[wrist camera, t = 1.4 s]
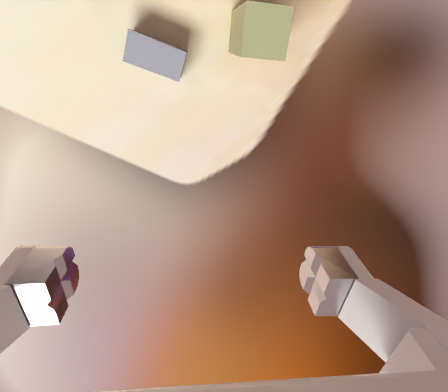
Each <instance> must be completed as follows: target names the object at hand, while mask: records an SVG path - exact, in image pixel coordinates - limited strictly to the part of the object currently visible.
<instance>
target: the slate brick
mask: <svg viewBox="0 0 448 392" xmlns="http://www.w3.org/2000/svg"><path fill="white" fill-rule="evenodd" d="M186 54H187V51H184V50H182V49H179V48H177V47H174V46H172V45H170V44H167V43H165V42H162V41H160V40H157V39H155V38H152V37H150V36H147V35H145V34H142V33H140V32H137V31H135V30H130V29H128V33H127V39H126V45H125V51H124V57H123V61H124V62H127V63H130V64H132V65H135V66H138V67H140V68H143V69H146V70H148V71H151V72H154V73H157V74H159V75H162V76H165V77H167V78H170V79H173V80H176V81H178V82H179V80H180V77H181V73H182V69H183V65H184V62H185V58H186Z"/></svg>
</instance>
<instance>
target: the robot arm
mask: <svg viewBox="0 0 448 392" xmlns="http://www.w3.org/2000/svg"><path fill="white" fill-rule="evenodd" d="M304 256H305V258H306V260H305V261H304V262H303V263H302V264H301V267H300V282H301V285H302V287H303V290H305V291H306V292H307V293H308V294H310V295H309V298H308V301H309V304H310V306H311V308H312V310H313V312H314V315H315V316H338V317H339V319H341V320H342V321H343V322H344V323H345V324H346V325H347V326H348V327H349V328H350V329H351V330H352V331H353V332H354V333H355V334H356V335H357V336H358V337H359V338H361V339H362V340H363V341H364V342H365V343H366V344H367V345H368V346H369V347H370V348H371V349H372V350H373V351H374V352H375V353H376V354H378V356H379V357H381V358H382V359H383V360H384V361H385V362H386V363H385V365H384V366H383V368H382V369H381V371H380V372H379V374H365V375H364V374H363V375H348V376H332V377H318V378H317V377H316V378H300V379H284V380H269V381H253V382H237V383H221V384H207V385H190V386H175V387H160V388H144V389H128V390H112V391H97V392H448V321H446V320H445V319H443V318H441V317H440V316H438V315H436V314H435V313H433V312H431V311H430V310H428V309H426V308H425V307H423V306H422V305H420V304H418V303H417V302H415V301H413V300H412V299H410V298H408V297H407V296H405V295H404V294H402V293H400V292H399V291H397V290H395V289H394V288H392V287H390V286H389V285H387V284H386V283H384V282H382V281H381V280H379V279H374V278H373V277H372V275H371V274H370V273H369V272H368V270H367V269H366V268H365V266H364V265H363V264H362V262H361V261H360V260H359V258H358V257H357V256H356V254H355V253H354V252H353V250H352V249H351V248H350V247H348V246H335V247H308V248H307V249H306V251H305V254H304ZM74 257H75V254H74V251H73V248H71V247H68V246H67V247H66V246H20V247H17V248H16V249H15V250H14V251H13V252H12V253H11V254H10V256H9V257H8V258H7V259H6V260H5V261H4V262H3V264H2V265H1V266H0V353H2V352H3V351H4V350H5V349H6V348H7V347H8V346H10V345H11V344H12V343H13V342H14V341H15V340H16V339H17V338H19V337H20V336H21V335H22V334H23V333H24V332H25V331H27V330H28V329H29V326H42V325H59V324H60V322H61V320H62V318H63V316H64V314H65V312H66V310H67V308H68V303H67V299H68V298H69V297H71V296H72V295H73V294H74V293H75V291H76V288H77V286H78V281H79V269H78V265H76V264H75V263H74V262H72V260H73V259H74Z"/></svg>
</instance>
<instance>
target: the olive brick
mask: <svg viewBox="0 0 448 392" xmlns="http://www.w3.org/2000/svg"><path fill="white" fill-rule="evenodd" d="M294 9H295V6H288V5H280V4H272V3H264V2H256V1H249V0H246V1H245V2H244V3H242V4H241V5H239V6H238V7H237V8H235V9H234V10H232V18H231V29H230V41H229V53H231V54H234V55H237V56H240V57H247V58H257V59H268V60H278V61H285V58H286V52H287V47H288V41H289V36H290V31H291V25H292V20H293V14H294Z"/></svg>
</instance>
